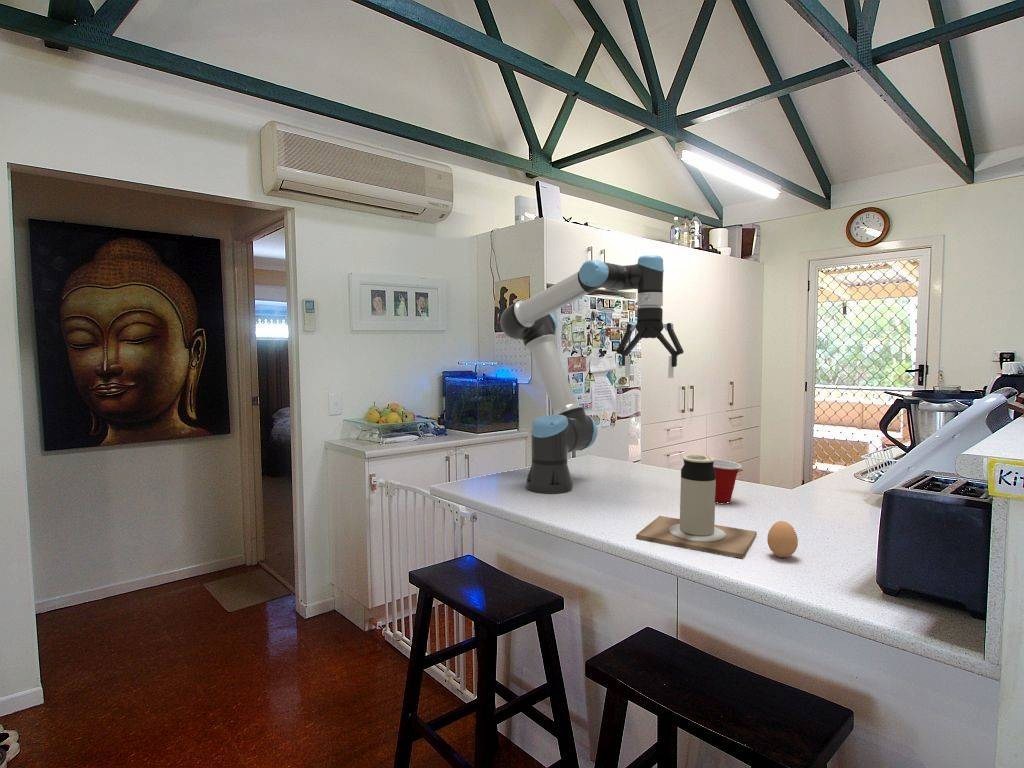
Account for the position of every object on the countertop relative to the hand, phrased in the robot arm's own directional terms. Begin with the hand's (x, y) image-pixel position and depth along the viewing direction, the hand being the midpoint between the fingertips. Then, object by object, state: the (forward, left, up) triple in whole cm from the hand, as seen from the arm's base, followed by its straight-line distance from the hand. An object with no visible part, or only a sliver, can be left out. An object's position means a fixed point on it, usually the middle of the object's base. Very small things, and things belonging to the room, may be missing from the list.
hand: (648, 377), depth 171 cm
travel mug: (+23, -31, -36) cm, 52 cm away
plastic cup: (+21, +5, -37) cm, 43 cm away
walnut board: (+23, -31, -37) cm, 53 cm away
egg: (+42, -34, -37) cm, 65 cm away
